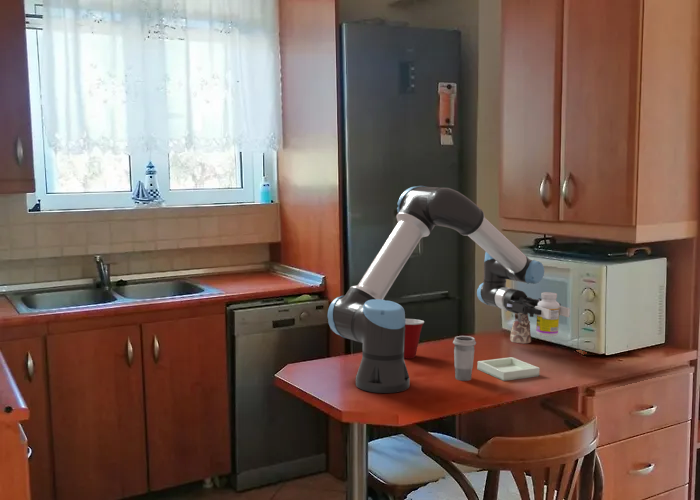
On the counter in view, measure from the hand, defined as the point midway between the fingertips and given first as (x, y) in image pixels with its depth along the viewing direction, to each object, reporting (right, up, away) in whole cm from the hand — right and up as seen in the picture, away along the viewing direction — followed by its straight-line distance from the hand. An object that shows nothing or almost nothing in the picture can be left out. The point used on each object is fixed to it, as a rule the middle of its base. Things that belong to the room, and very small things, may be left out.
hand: (559, 313), depth 226 cm
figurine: (-3, -13, +40) cm, 42 cm away
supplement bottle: (-2, -7, +5) cm, 9 cm away
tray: (-16, -18, -1) cm, 24 cm away
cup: (-30, -19, -8) cm, 36 cm away
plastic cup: (-45, -15, +16) cm, 50 cm away
